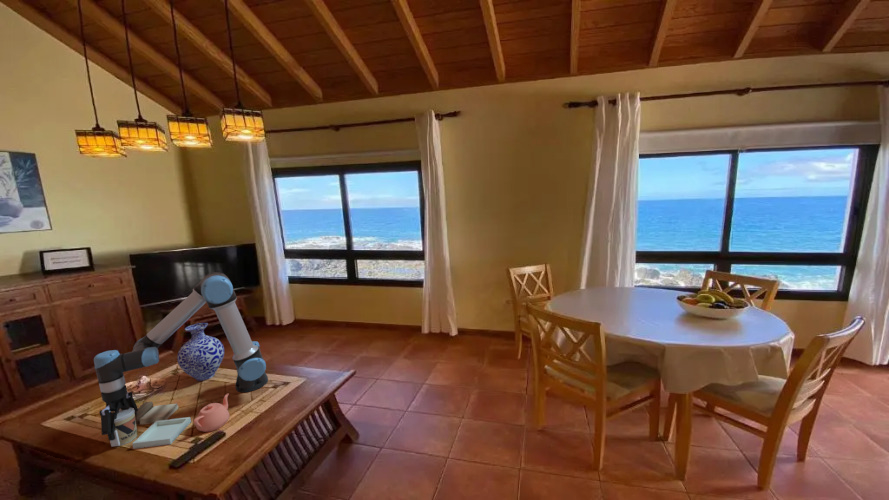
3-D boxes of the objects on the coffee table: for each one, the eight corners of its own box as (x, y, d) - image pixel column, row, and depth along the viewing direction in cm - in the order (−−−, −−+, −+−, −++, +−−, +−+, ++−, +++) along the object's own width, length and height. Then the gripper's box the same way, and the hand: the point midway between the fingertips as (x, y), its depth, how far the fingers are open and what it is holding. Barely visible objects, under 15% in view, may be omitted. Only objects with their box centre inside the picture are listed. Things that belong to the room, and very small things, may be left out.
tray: (191, 422, 155) (190, 417, 154) (170, 444, 141) (169, 438, 141) (157, 426, 153) (156, 421, 153) (133, 448, 139) (132, 443, 139)
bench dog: (154, 410, 165) (152, 401, 164) (138, 424, 155) (136, 414, 154) (147, 411, 164) (145, 402, 164) (131, 425, 155) (129, 415, 154)
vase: (196, 369, 204) (187, 321, 199) (234, 365, 207) (227, 317, 202) (172, 389, 183) (162, 336, 178) (215, 384, 186) (206, 332, 181)
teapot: (185, 435, 146) (181, 415, 145) (221, 409, 163) (218, 390, 162) (208, 438, 143) (204, 418, 142) (242, 411, 161) (239, 393, 159)
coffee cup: (121, 448, 140) (115, 422, 138) (103, 446, 142) (97, 420, 140) (145, 433, 149) (140, 407, 147) (128, 431, 151) (122, 406, 149)
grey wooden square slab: (178, 409, 166) (177, 403, 165) (164, 422, 156) (163, 416, 156) (155, 411, 165) (154, 405, 164) (140, 425, 155) (139, 419, 154)
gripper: (123, 376, 151) (133, 422, 155) (79, 405, 131) (92, 457, 134) (142, 374, 152) (152, 420, 156) (101, 402, 131) (114, 455, 135)
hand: (124, 437), depth 145 cm, fingers closed on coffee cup, 8 cm apart
